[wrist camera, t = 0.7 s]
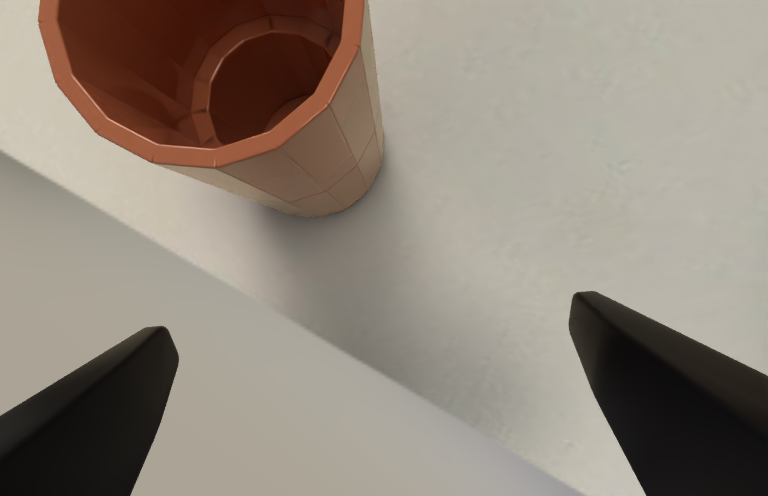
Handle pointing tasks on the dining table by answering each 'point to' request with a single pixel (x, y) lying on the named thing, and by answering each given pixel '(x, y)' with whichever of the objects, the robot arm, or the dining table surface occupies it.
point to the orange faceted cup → (229, 91)
